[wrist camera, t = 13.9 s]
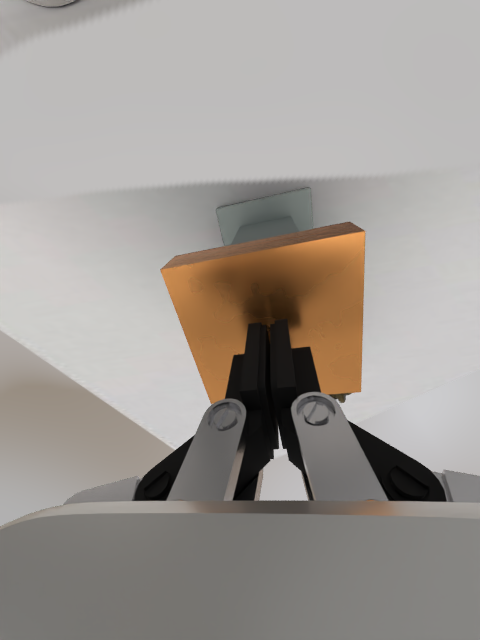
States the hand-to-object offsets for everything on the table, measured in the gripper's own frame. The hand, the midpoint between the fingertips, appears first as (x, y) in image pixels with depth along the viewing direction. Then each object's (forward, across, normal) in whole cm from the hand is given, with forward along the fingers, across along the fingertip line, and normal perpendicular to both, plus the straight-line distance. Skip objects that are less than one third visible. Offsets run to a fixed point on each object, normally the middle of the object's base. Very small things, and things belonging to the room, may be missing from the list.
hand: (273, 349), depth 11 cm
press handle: (+13, 0, 0) cm, 13 cm away
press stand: (+19, 0, 0) cm, 19 cm away
